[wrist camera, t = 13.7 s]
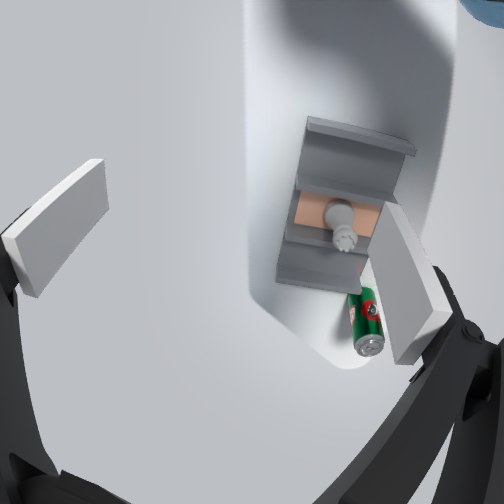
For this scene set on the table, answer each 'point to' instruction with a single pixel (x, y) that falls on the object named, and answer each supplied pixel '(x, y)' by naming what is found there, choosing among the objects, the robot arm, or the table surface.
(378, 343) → the soda can
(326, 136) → the stepped slat stand
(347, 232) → the rook chess piece
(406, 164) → the table surface
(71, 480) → the robot arm
